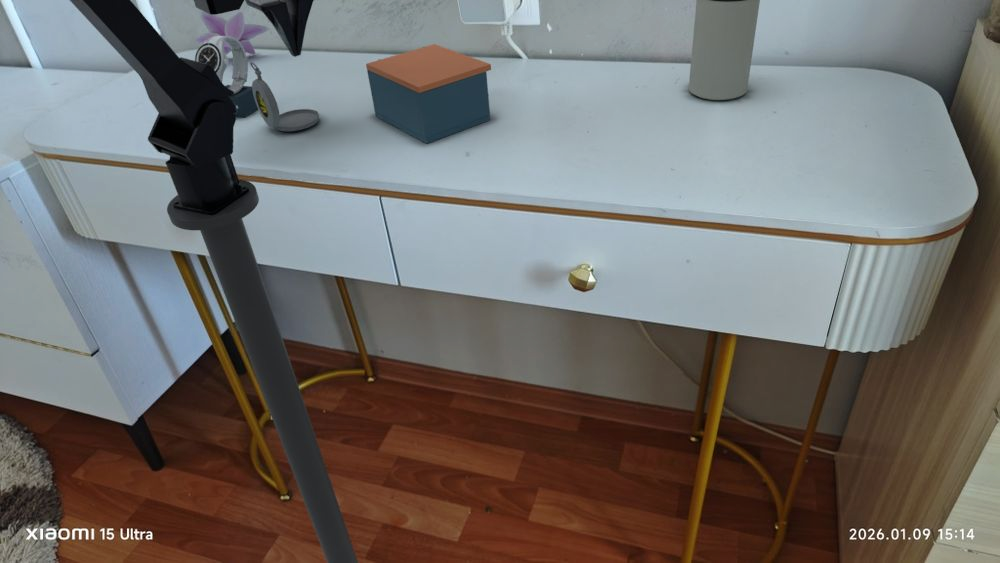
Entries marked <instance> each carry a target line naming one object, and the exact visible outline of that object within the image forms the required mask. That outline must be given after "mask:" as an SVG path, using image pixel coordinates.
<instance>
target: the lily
mask: <svg viewBox="0 0 1000 563" xmlns="http://www.w3.org/2000/svg"><path fill="white" fill-rule="evenodd" d="M198 15H199V18H200V20H201V21H202V23H203V25H204V26H205V28H206V30H207V31H208V32H207V33H203V34H202V35H199V36H197V37H196V38H194V39H193V41H192V42H193V43H195V44H203V43H204V42H205V40H206V41H207V39H209V38H210V37H212V36H231V37H234V38H236V39H237V40H238V41H239V42H240V43H241V44H242V46H243V48H244V50H245V53H247V54H249V55H252V56H256V51H255V48H254V46H253V45H252V43H251V42H250V41H251V40H252V39H254V38H256V37H258V36H261V35H262V34H264V33H267V32H268V31H270V30H271V29H270V27H269V26H265V25H263V24H262V25H261V24H257V23H245V16H244V13H243V12H242V11H239V12H237V13H235V14H234V15H232V16H231V17H230V18H228V19H226V18H224V17H223V16H220V15H219V14H215V15H210V14H208V13H206V12H204V11H202V10H200V11H199V12H198ZM223 42H224V49H225V53H226V56H227V55H228V54H230V53H232V58H233V57H234V55H233V50H232V48H231V46H230V45H229V43H227V42H226V41H225V40H223Z"/></svg>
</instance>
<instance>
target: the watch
mask: <svg viewBox="0 0 1000 563" xmlns="http://www.w3.org/2000/svg"><path fill="white" fill-rule="evenodd" d="M223 40H225V41H226V42H227V43H229V45H230V46H231V48H232V50H233V54H232V73H231V74H232V76H231V78H232V83H231V84H226V85H225V86H226V87H227V88H228V89H230V90H232V91H233V92H234V93H233V94H232V95H229V96H230V97H231V98H232V100H233V102H234V103H235V105H236V108H237V113H236V118H247V117H249V116H250V115H252V114H253V113H255V112H256V111H259V110H258V108H257V105H256V102H255V99H254V95H253V90H252V85H251V86H250V85H245V83H246V82H248V75H249V73H248V72H249V62H248V61H249V60H248V56H247V54H246V52H245V50H244V48H243V46H242V44H241V43H240V42H239V41H238V40H237V39H236V38H234V37H231V36H212V37H210V38H209V39H207V41H206V40H205V42H204V43H201V45H200V46H199V47H198V48H197V50H196V52H195V55H194V61H197V62H201V63H205V64H209V65H210V66H211V67H212V68H213V69H214V71H215V72H216V74H217V76H218V77H219V79H220V81H221V82H222V83H223V79H224V78H223V77H224V73H225V72H226V70H227V67H228V66H229V65H230V60H229V58H228V56H227V55H226V53H225V49H224V42H223ZM233 55H234V57H233Z"/></svg>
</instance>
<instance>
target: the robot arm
mask: <svg viewBox="0 0 1000 563" xmlns="http://www.w3.org/2000/svg"><path fill="white" fill-rule="evenodd" d="M69 1H70V3H72V5H73V6H74V7H75V8H76V9H77V10H78V11H79V12H80V13H81V14H82V15H83V17H84V18H85V19H86V20H87V21H88V22H89V23H90V24H91V25H92V26H93V27H94V28H95V29H96V30H97V32H98V33H99V34H100V35H101V36H102V38H104V39H105V40H106V41H107V42H108V43H109V44H110V46H111V47H112V48H113V49H114V50H115V51H116V52H117V53H118V54H119V55H120V57H122V59H123V60H124V61H125V62H126V63H127V64H128V65H129V66H130V67H131V68H132V70H134V71H135V72H136V74H138V76H139V78H140V79H141V81H142V83H143V87H144V89H145V91H146V92H145V93H146V95H147V97H148V99H149V101H150V102H151V104H152V105H153V107H154V108H155V109H156V111H157V112H158V114H157V116H156V119H155V120H154V123H153V125H152V128H151V130H150V131H149V134H148V137H147V141H148V142H149V143H150V145H151V146H152V147H153V148H154V149H155V150H156V151H157V152H158V153H160V154H164V155H167V156H169V159H168V160H166V161H165V165H166V168H167V170H168V173H169V176H170V179H171V180H172V184H173V186H174V189H175V191H176V194H177V195H178V196H179V200H178V201H176V202H174V203H173V207H174V208H176V209H181V210H186V211H191V212H196V213H201V214H206V215H215V214H217V213H218V212H220V211H221V210H223V209H224V208H226V207H227V206H229V205H230V204H231V203H233V202H234V201H236V200H237V199H239V198H240V197H242V196H243V195H244V194H246V193H247V192H249V188H248V187H247V186H241V185H238V184H239V179H240V178H239V176H238V173H237V169H236V167H235V164H234V161H233V157H232V154H233V153H234V127H235V125H236V120H237V117H236V113H237V108H236V105H235V103H234V102H233V100H232V98H231V97H230V96H229V95H232V94H233V93H234V92H233V91H232V90H230V89H228V88H227V87H226V85H225V84H224V83H223V81H222V82H221V81H220V79H219V77H218V76H217V74H216V72H215V71H214V69H213V68H212V67H211V66H210V65H209V64H205V63H201V62H197V61H195V60H193V59H190V58H185V57H179V56H178V54H176V52H175V51H174V50H173V48H171V46H170V45H169V44H168V42H167V41H166V40H165V39H164V38H163V37H162V36H161V35H160V33H159V32H158V31H157V30H156V29H155V28H154V26H153V25H152V24H151V22H149V20H148V19H147V17H146V16H144V15H143V13H142V12H141V11H140V9H139V8H138V7H137V6H136V5H135V4H134V2H133V1H132V0H69ZM314 1H315V0H193V3H194V6H195V8H196V9H198V10H200V11H203V12H206V13H208V14H210V15H222V14H225V13H229V12H233V11H238V10H241V7H242V6H243V4H244V2H245V3H246V5H247V6H248V7H251V8H252V9H253V8H254V9H256V10H258V11H260V12H262V14H263V15H264V16H265V17H266V18H267V20H268V21H269V22H270V23H271V25H272V26H273V28H274V29H275V31H276V33H277V34H278V36H279V37H280V39H281V41H282V42H283V44H284V45H285V47H286V49H287V50H288V52H289V53H290V55H291V56H292V57H294V58H295V57H299V56H301V55H302V50H303V43H304V40H305V33H306V28H307V24H308V20H309V16H310V14H311V10H312V7H313V4H314Z"/></svg>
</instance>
